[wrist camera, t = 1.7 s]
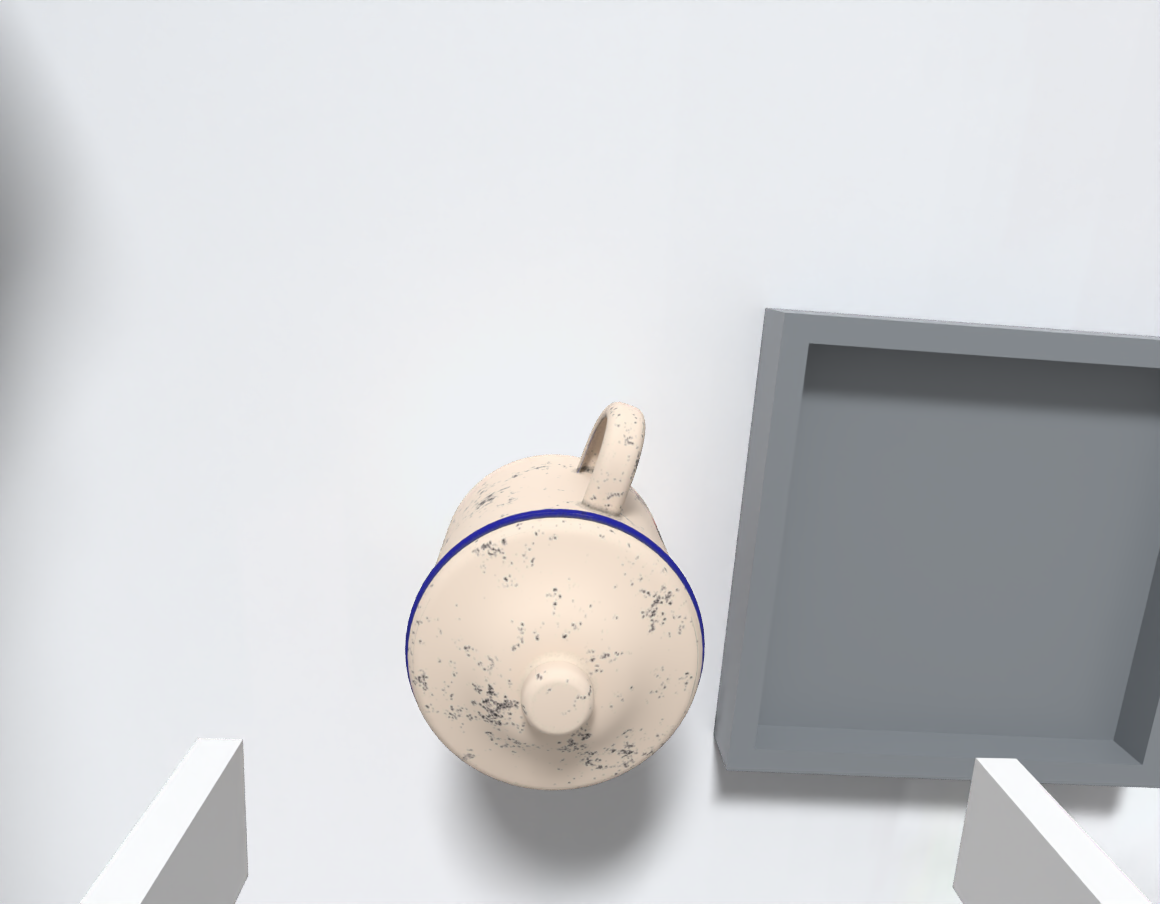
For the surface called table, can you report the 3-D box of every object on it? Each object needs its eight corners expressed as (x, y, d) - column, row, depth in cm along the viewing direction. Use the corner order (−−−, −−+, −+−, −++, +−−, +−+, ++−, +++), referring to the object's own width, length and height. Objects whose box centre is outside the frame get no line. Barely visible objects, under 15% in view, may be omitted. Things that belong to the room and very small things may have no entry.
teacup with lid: (619, 686, 35) (656, 890, 24) (410, 622, 34) (344, 804, 23) (725, 420, 33) (821, 507, 22) (503, 342, 32) (481, 391, 21)
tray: (713, 734, 36) (726, 770, 33) (765, 307, 32) (784, 312, 29) (1118, 751, 37) (1160, 788, 34) (1217, 341, 33) (1274, 348, 30)
